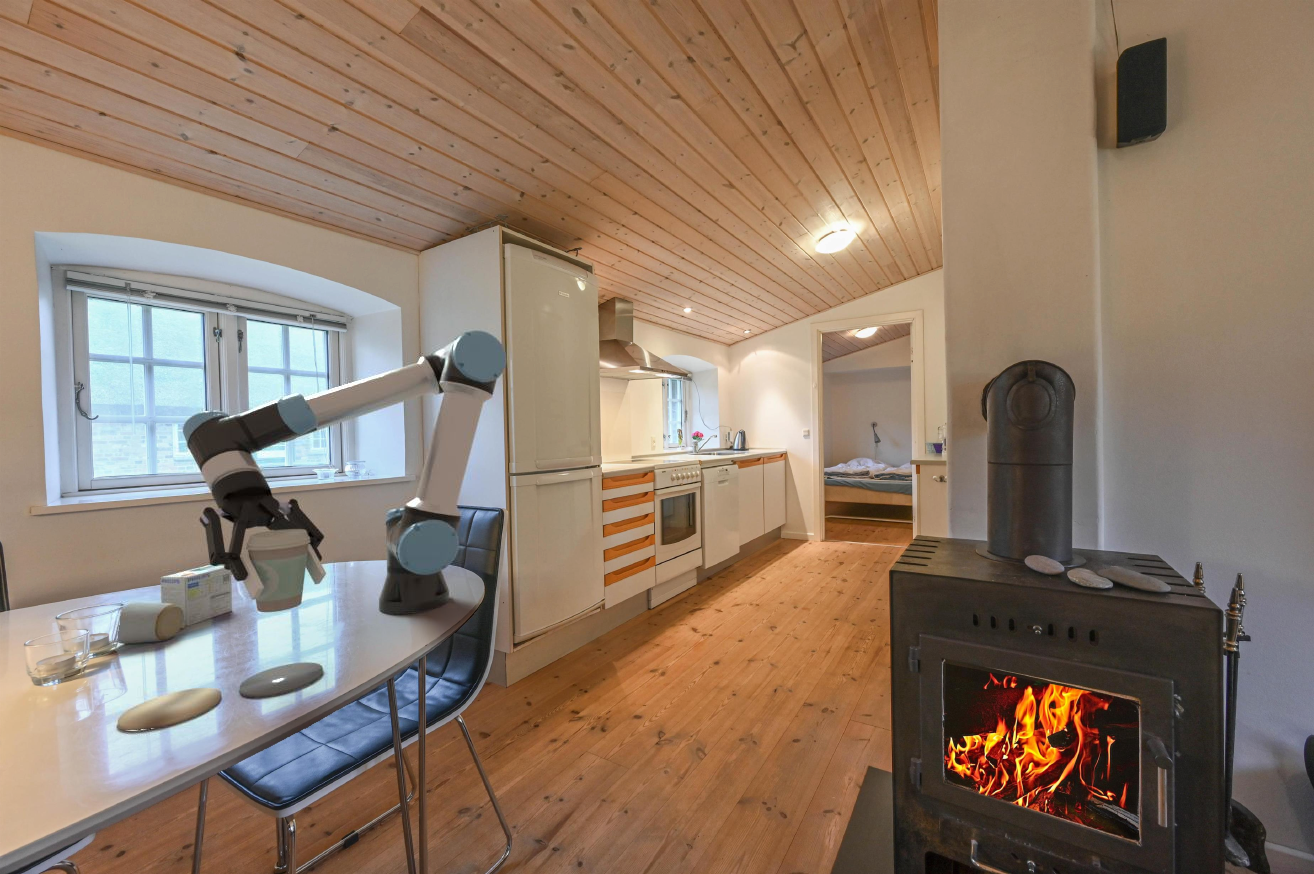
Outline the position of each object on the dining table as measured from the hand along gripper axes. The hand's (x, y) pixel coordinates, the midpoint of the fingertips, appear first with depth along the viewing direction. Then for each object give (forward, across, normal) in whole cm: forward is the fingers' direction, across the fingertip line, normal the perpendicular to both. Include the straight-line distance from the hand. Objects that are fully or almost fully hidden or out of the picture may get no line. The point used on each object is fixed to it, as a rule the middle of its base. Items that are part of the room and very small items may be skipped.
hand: (290, 585), depth 83 cm
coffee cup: (0, 0, -5) cm, 5 cm away
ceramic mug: (-23, 0, -46) cm, 51 cm away
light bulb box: (-28, -10, -51) cm, 59 cm away
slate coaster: (+9, 0, -13) cm, 16 cm away
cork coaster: (+6, +12, -17) cm, 21 cm away
